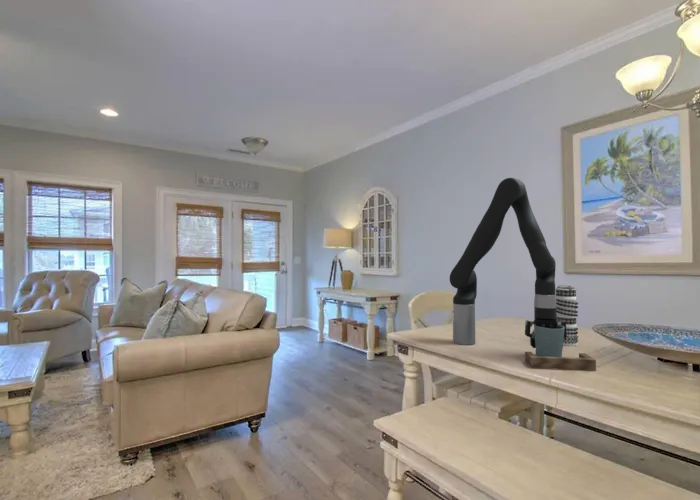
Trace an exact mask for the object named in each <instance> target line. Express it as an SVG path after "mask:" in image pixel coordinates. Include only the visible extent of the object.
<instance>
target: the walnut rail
mask: <svg viewBox="0 0 700 500" xmlns="http://www.w3.org/2000/svg"><path fill="white" fill-rule="evenodd" d="M524 361H525V362H526V363H527V365H528V366H529V367H530V368H531V369H534V368H535V369H548V368H557V369H556V370H573V369H575V371H578V370H579V371H597V361H596V358H594V357H592V356H590V355H588V354H587V353H585V352H584V353H582V352H579V353H578V357H574V356H573V357H572V356H571V357H570V356H567V357H566V356H562V357H543V356H536V354H534V353H533V352H532V351H524Z"/></svg>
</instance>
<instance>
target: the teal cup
mask: <svg viewBox="0 0 700 500" xmlns="http://www.w3.org/2000/svg"><path fill="white" fill-rule="evenodd" d="M533 327H534V329H533V330H534V332H535V347H536V348H535V356H543V357H563V349H564V347H563V346H564V345H563V337H564V329H565V327H564V326H562V325H559V324H557V326H556V328H555V329H549V328H543V327H538V326H536V324H533Z"/></svg>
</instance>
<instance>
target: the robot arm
mask: <svg viewBox="0 0 700 500" xmlns="http://www.w3.org/2000/svg"><path fill="white" fill-rule="evenodd" d="M531 206H532V205H531V204H530V201H529V197H528V192H527V188H526V184H525V183H524V182H523V181H521V179H518V178H515V177H507V178H505V179H503V180H502V181H500V183H499V184H498V185H497V187H496V190H495V192H494V195H493V197H492V200H491V202H490V204H489V206H488V208H487V210H486V211H485V213H484V215H483V217H482V218H481V220H480V222H479V223H478V225H477V227H476V229H475V230H474V233H473V235H472V236H471V238H470V241H469V243H468V244H467V245H466V248H465V250H464V252H463V253H462V255H461V257H460V258H459V260H458V261H457V263H456V264H455V266H454V267H453V269H452V270H451V272H450V274H449V284H450V285H451V287H453V288H454V289H456V293H455V295H453V298H452V307H453V308H452V309H453V310H452V311H453V312H452V315H453V316H452V318H453V319H452V342H453V344H455V345H457V344H458V345H463V346H464V345H465V346H466V345H468V346H470V345H471V346H472V345H475V344H476V299H477V293H478V291H477V290H478V289H477V288H478V278H477V274H476V271H475V270H474V269H475V267H476V266H477V265H478V264H479V262H480V261H481V260H482V259H483V258H484V257H485V256H486V255H487V254H488V253H489V252H490V251H491V250H492V248H493V247H494V245H495V243H496V241H497V239H498V238H499V236H500V234H501V231H502V228H503V225H504V224H503V223H504V220H505V217H506V215H507V213H508V211H509V209H511V208H510V207H512V209H513V211H514V215H515V216H516V219H517V224H518V228H519V231H520V234H521V238H522V240H523V242H524V244H525V247H526V248H527V250H528V253H529V255H530V256H529V257H530V260H531V262H532V264H533V267H534V268H535V281H534V298H533V299H534V300H533V309H534V310H533V311H534V316H533V317H534V318H533V319H534V320H533V321H531V320H528V319H526V320H525V323H524V324H525V327H524V335H525V336H526V337H528V338H529V343H530V344H529V345H530V346H531V348H532V349H536V347H535V332H534V329H533V330H532V331H531V328H532V327H533V326H534V324H536V326H538V327H543V328H549V329H555V328H556V326H557V324H559V325H562V326H564V327H565V329H564V337H563V338H566V337H567V332H566V323H565V322H563V321H560V322H557V321H556V313H557V312H556V281H555V279H556V264H557V263H556V259H555V258H554V256H552V255H551V252H550V249H548V246H547V242H546V239H545V236H544V234H543V232H542V230H541V228H540V225H539V223H538V221H537V219H536V216H535V214H534V212H533V209H532V207H531Z"/></svg>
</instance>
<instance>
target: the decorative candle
mask: <svg viewBox="0 0 700 500" xmlns="http://www.w3.org/2000/svg"><path fill="white" fill-rule="evenodd" d="M577 290H578V289H576V288H575V287H574V285H567V284H564V285H563V284H560V285H557V287H555V296H556V321H557V322H560V321H563V322H565V323H566V332H567V337H566V338H563V346H566V345H567V347H575V345H576V346H578V345H579V343H578V342H579V336H578V333H579V332H578V330H579V328H578V324H577V318H578V317H579V314H578V313H579V311H578V310H577V309H578V308H579V305H578V304H579V303H578V302H577Z"/></svg>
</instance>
